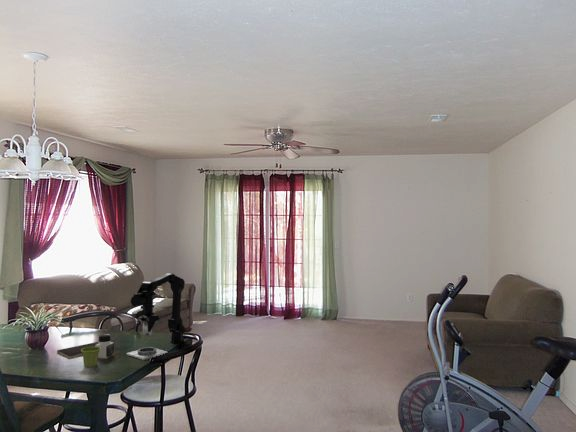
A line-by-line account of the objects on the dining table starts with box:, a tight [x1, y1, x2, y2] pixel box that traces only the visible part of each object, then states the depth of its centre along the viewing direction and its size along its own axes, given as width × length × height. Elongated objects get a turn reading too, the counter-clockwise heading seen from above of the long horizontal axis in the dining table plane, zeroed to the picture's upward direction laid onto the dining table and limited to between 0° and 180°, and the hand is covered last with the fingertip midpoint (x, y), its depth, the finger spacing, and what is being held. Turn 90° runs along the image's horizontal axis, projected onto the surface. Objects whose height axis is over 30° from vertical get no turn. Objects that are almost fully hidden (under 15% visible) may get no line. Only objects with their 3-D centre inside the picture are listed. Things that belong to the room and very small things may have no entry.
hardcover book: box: [56, 341, 99, 359], centre depth 260 cm, size 16×23×2 cm
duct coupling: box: [142, 320, 153, 337], centre depth 257 cm, size 5×5×8 cm
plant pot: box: [81, 347, 101, 368], centre depth 234 cm, size 9×9×9 cm
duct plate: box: [126, 346, 169, 361], centre depth 254 cm, size 16×16×2 cm
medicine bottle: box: [95, 333, 115, 359], centre depth 250 cm, size 7×7×12 cm
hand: (147, 331), depth 257 cm, fingers closed on duct coupling, 5 cm apart
